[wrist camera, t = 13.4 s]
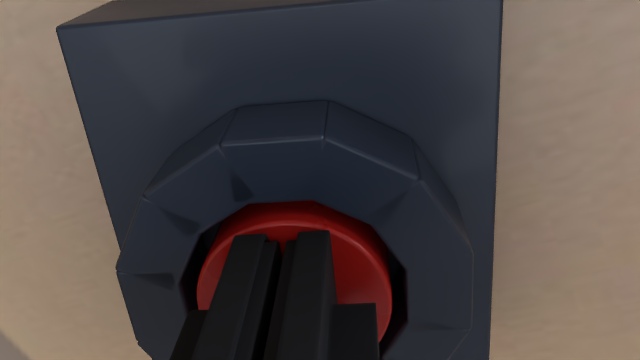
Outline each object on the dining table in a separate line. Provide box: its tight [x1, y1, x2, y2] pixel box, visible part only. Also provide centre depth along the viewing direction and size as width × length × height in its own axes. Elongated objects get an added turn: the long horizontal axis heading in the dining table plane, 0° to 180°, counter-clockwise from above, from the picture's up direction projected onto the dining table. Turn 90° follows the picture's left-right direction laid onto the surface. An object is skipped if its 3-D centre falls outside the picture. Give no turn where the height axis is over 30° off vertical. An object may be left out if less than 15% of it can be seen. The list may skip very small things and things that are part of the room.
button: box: [197, 200, 392, 342], centre depth 11 cm, size 4×4×2 cm
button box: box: [56, 0, 503, 360], centre depth 13 cm, size 10×8×4 cm
